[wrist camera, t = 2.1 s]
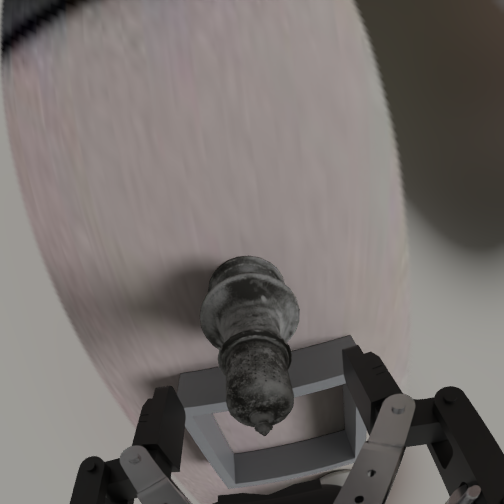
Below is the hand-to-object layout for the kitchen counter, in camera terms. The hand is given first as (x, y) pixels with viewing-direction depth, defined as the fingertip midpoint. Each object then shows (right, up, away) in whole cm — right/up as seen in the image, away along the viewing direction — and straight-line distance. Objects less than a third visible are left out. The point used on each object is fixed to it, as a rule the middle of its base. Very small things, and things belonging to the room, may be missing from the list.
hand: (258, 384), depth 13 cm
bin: (+2, -9, +13) cm, 15 cm away
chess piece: (-1, +3, +8) cm, 9 cm away
